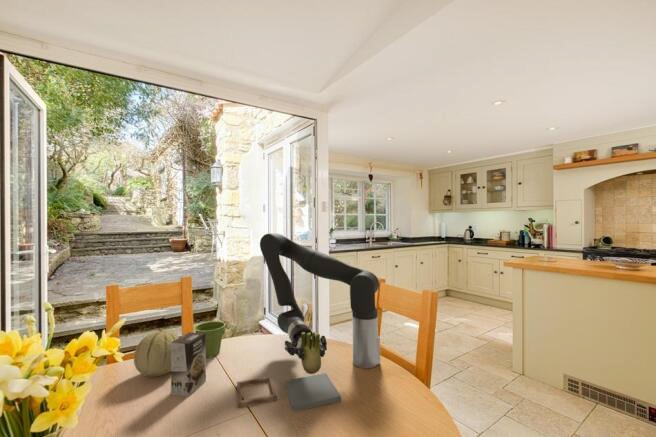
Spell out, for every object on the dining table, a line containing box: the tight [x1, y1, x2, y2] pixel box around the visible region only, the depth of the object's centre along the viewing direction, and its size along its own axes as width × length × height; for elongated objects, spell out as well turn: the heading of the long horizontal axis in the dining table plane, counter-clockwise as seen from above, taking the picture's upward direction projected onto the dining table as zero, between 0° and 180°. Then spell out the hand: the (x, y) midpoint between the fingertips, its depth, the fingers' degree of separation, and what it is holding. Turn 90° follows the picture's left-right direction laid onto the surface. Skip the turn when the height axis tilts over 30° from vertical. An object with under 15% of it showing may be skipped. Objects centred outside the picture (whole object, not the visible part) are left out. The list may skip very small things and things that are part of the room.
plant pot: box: [193, 320, 226, 358], centre depth 120 cm, size 12×12×11 cm
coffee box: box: [170, 332, 207, 397], centre depth 95 cm, size 9×6×16 cm
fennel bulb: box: [300, 331, 322, 375], centre depth 92 cm, size 6×5×12 cm
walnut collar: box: [236, 375, 278, 408], centre depth 92 cm, size 11×12×1 cm
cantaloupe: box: [133, 328, 180, 378], centre depth 104 cm, size 15×15×15 cm
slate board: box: [284, 372, 342, 412], centre depth 92 cm, size 14×14×2 cm
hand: (313, 355), depth 89 cm, fingers closed on fennel bulb, 5 cm apart
